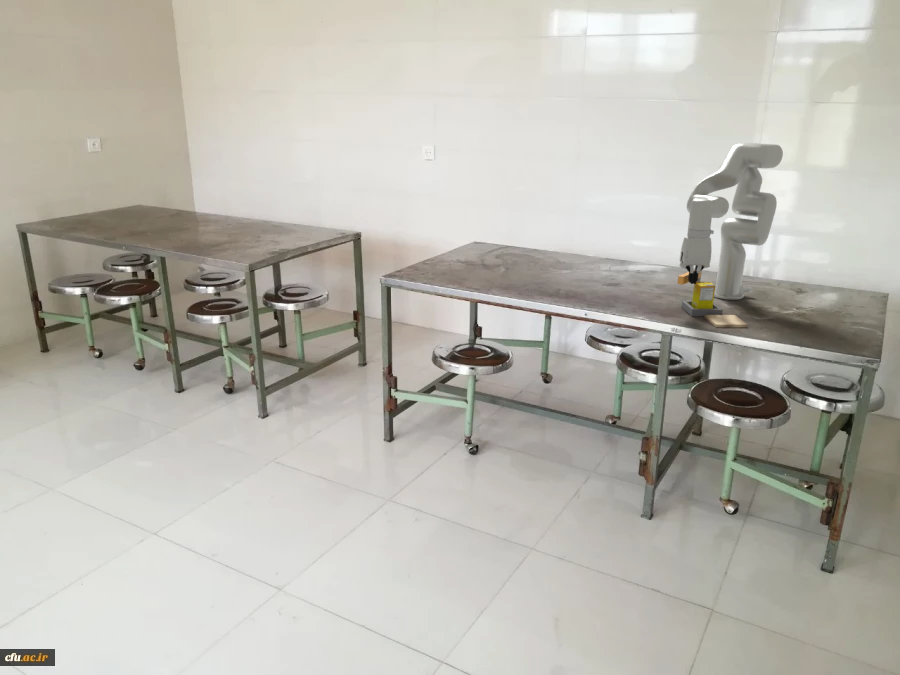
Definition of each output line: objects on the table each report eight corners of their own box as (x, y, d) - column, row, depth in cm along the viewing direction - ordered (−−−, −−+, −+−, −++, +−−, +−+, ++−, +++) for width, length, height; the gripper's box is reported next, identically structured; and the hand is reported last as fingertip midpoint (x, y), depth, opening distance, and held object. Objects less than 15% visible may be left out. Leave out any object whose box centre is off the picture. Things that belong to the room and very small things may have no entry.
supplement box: (705, 309, 258) (709, 281, 254) (712, 313, 253) (716, 285, 249) (690, 309, 258) (694, 281, 254) (696, 314, 252) (700, 285, 249)
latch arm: (693, 303, 264) (698, 266, 258) (698, 304, 262) (703, 267, 257) (673, 312, 253) (678, 273, 248) (678, 313, 251) (683, 274, 246)
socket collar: (710, 306, 261) (711, 300, 260) (722, 316, 250) (723, 309, 249) (681, 307, 261) (682, 300, 260) (691, 316, 250) (692, 309, 249)
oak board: (734, 317, 248) (734, 314, 248) (746, 327, 238) (747, 324, 238) (704, 317, 248) (704, 314, 248) (715, 327, 238) (716, 324, 237)
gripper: (715, 231, 246) (708, 280, 252) (674, 231, 246) (669, 280, 252) (723, 235, 239) (716, 285, 245) (681, 235, 239) (675, 286, 245)
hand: (692, 282), depth 248 cm, fingers closed
